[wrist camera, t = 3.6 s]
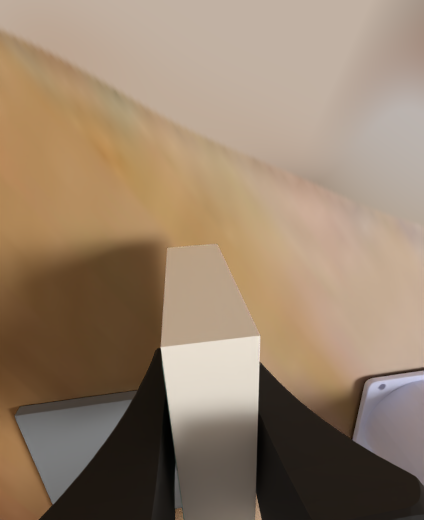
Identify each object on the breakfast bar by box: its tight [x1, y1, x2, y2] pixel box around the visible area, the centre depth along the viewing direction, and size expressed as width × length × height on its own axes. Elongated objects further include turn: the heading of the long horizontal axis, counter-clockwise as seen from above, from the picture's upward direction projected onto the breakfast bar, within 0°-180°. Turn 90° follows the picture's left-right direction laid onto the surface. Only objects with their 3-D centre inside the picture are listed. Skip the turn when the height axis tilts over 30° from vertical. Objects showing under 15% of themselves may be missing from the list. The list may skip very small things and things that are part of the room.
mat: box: [15, 390, 182, 509], centre depth 18 cm, size 13×11×1 cm
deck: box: [161, 244, 260, 520], centre depth 10 cm, size 2×9×6 cm, turn 2°
